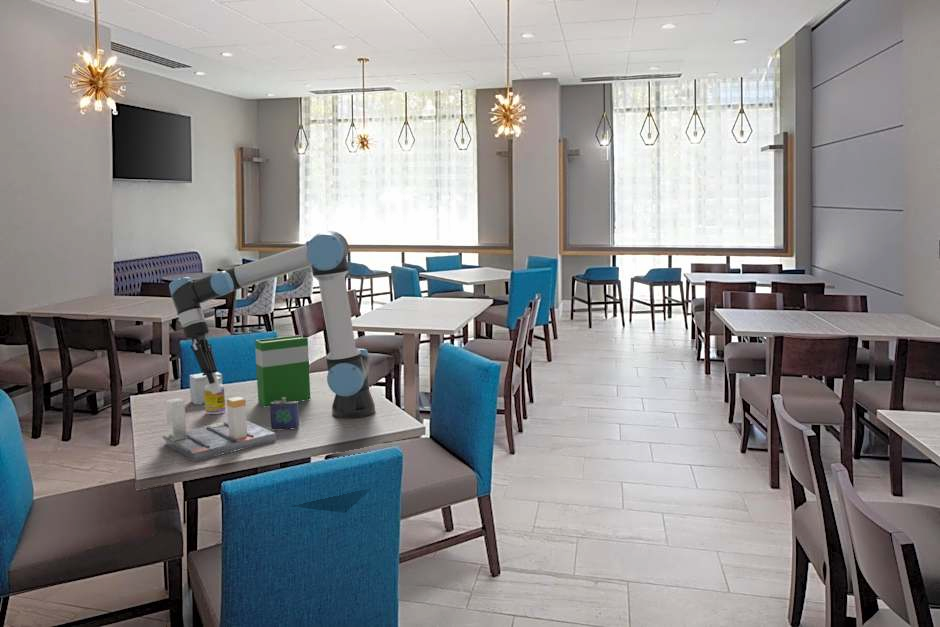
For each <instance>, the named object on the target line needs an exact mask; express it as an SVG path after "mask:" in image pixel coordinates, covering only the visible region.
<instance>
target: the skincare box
mask: <svg viewBox="0 0 940 627" xmlns="http://www.w3.org/2000/svg"><path fill="white" fill-rule="evenodd" d="M215 373H216V376H217V377H220V378H221V381H220V384H222V385H223V374H222V373H220V372H219V371H218V372H215ZM202 374H204V373H202V372H200V373H194V374H189V376H188V377H189V389H190V390H189V391H190V392H189V393H190V402H191V403H193V404H194V403H195V405H196V404H199V405H201V404H200V403H204V404H205V392H204V388H205V386H206V385H207V384H208V383H207V378H206V375H204V376H203V375H202ZM223 386H224V385H223Z"/></svg>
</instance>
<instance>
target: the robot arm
mask: <svg viewBox="0 0 940 627" xmlns="http://www.w3.org/2000/svg"><path fill="white" fill-rule="evenodd" d="M349 248H350V246H349V243H348V240H347V239H346V237H344V236H343V234H341V233H339V232H337V231H331V230H330V231H325V232H323V231H322V232H321V233H320V232H319V233H317V234H316V235H314V236H313V237H312V238H311V239H310V240H307V241H305V243H304V245H301V246H298V247H294V248H291V249H289V250H286V251H281V252H278V253H275V254H273V255H272V254H271V255H270V256H266V257H264V258H263V257H262V258H260V259H257V260H254V261H251V262H248V263H244V264H241V265H239V266H235V267H231V268H228V269H224V270H221V271H216V272H214V273H211V274H209V275H206V276H204V277H202V278H199V279H196V280H193V278H191V277H189V276H185V277H181V278H177V279H174V280H171V282H170V283H169V285H168V287H169V292H170V296H171V299H172V301H173V304H174V307H175V310H176V312H177V315H178V319H177V320H178V322H180V326H181V327H182V331H183V334H184V337H185V339H186V340H191V344H190V349H191V350H192V352H193V354H194V356H195V360H196V361H197V364H198V366H199V368H200V371H201V373H204V374H202V375H203V376H204V375H206V378H207V381H208V384H209V387H210V390H211V393H212V394H216V393H218V392H221V388H220V385H219V382H218V379H217V376H216V373H215V372H219V371H218V369H217V366H216V362H215V358H214V353H213V349H212V348H213V347H212V344H211V343H209V341H208V339H207V338H206V335H208V333H209V332H210V330H209V327H208V324H207V322H206V318H205V315H204V312H203V309H202V306H201V303H205V302H207V301H210V300H213V299H216V298H218V297H222V296H225V295H228V294H230V293H232V292H234V291H237V290H240V289H243V288H247V287H250V286H253V285H256V284H259V283H262V282H265V281H270V280H272V279H275V278H279V277H281V276H282V277H283V276H285V275H288V274H291V273H295V272H298V271H301V270H304V269H308V268H310V267H311V271H312V276H313V278H315V279H316V280H317V281H318V286H319V291H320V299H321V304H322V310H323V315H324V316H323V318H324V323H325V329H326V330H325V331H326V334H327V342H328V348H329V352H328V353H327V355H326V356H325V358H326V364H327V366H326V367H327V371H328V372H327V376H326V377H327V378H326V381H327V385H328V387H329V389H330V391H332V392H333V393H335V396H334V399H333V402H332V406H331V414H332V415H333V416H334V417H337V418H343V419H344V418H345V419H349V418H350V419H354V418H355V419H356V418H363V417H367V416H370V415H372V414H374V413H375V411H376V405H375V402H374V399H373V397H372V396H373V395H372V394H371V392H370V373H369V372H370V371H369V370H370V369H369V366H370V365H369V358H370V357H369V352H368V349H366V348H357V347H356V342H355V341H356V340H355V335H354V328H353V322H352V316H351V308H350V302H349V296H348V289H347V283H346V276H347V274H348V272H349V266H348V259H347V256H348V254H349Z"/></svg>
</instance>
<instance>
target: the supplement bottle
mask: <svg viewBox="0 0 940 627" xmlns="http://www.w3.org/2000/svg"><path fill="white" fill-rule="evenodd" d="M217 379H218V382H219V385H220V388H221V392H218V393H216V394H212V393H211V390H210V387H209V384H207V385H206V386H205V388H204V392H205V403H204V404H205V414H207V415H209V414H218V415H221V414H220V413H222V414H224V413H225V412H226V403H225V386H224V385H222V384H220V381H221V378H220V377H217ZM207 383H208V381H207ZM223 412H224V413H223Z"/></svg>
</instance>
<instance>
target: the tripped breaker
mask: <svg viewBox="0 0 940 627" xmlns="http://www.w3.org/2000/svg"><path fill="white" fill-rule="evenodd" d="M226 406H227V422H228V424H229V436H230V437H232V438H234V439H239V438H243V437H247V423H246V420H247V408H246V398H244V397H241V396H237V397H236V396H235V397H230V398H227V399H226Z"/></svg>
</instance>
